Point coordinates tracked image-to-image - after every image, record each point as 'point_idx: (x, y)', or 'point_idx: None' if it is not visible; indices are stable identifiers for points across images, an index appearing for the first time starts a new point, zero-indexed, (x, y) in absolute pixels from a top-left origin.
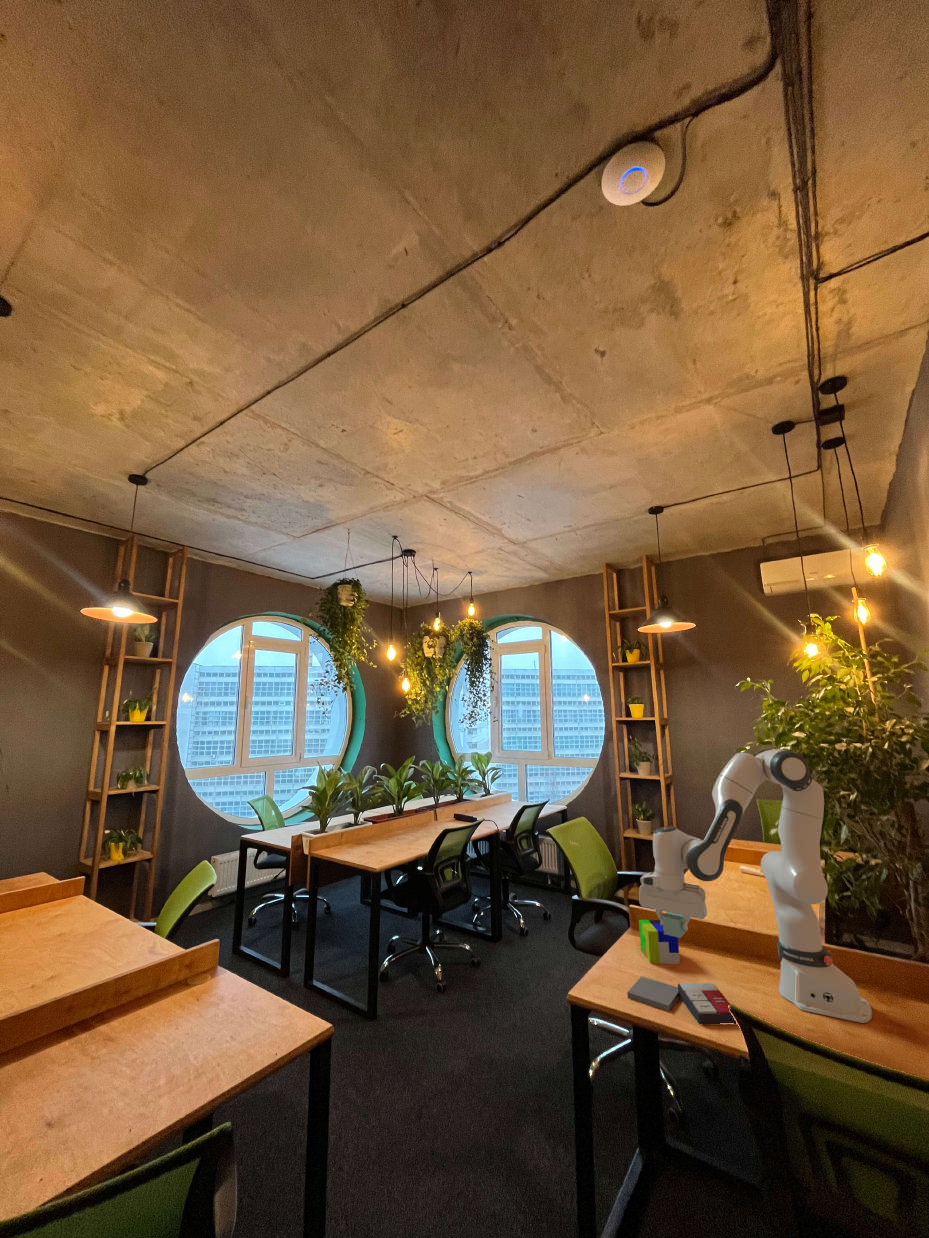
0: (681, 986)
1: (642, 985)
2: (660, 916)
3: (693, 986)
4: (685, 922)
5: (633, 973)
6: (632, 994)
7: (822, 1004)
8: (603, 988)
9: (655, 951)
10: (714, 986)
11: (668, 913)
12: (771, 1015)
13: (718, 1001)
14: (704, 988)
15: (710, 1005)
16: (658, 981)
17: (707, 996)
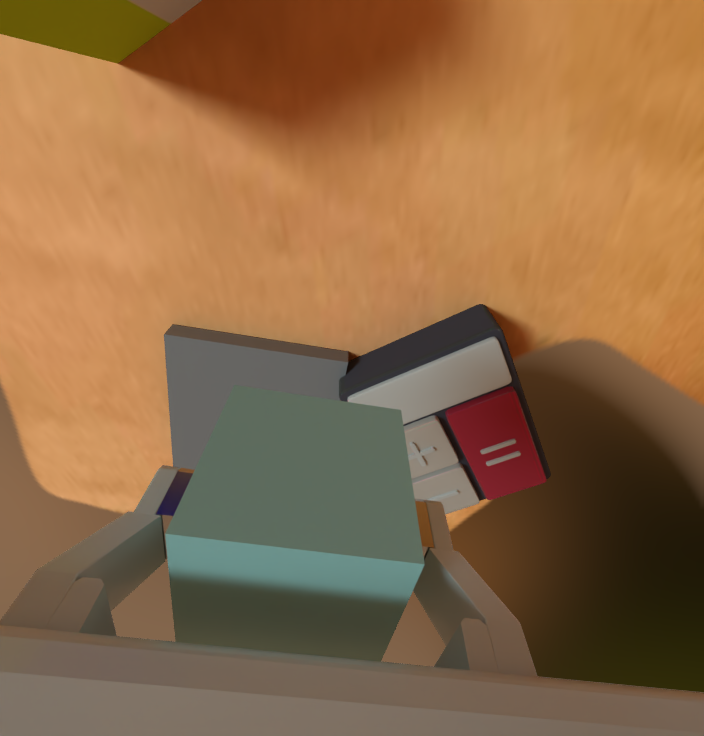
0: None
1: (200, 405)
2: (131, 583)
3: (406, 400)
4: (438, 619)
5: (105, 262)
6: (194, 468)
7: None
8: (79, 435)
9: (111, 22)
10: (499, 362)
11: (203, 572)
12: (679, 357)
13: (496, 463)
14: (452, 394)
15: (463, 485)
16: (247, 346)
17: (458, 442)
